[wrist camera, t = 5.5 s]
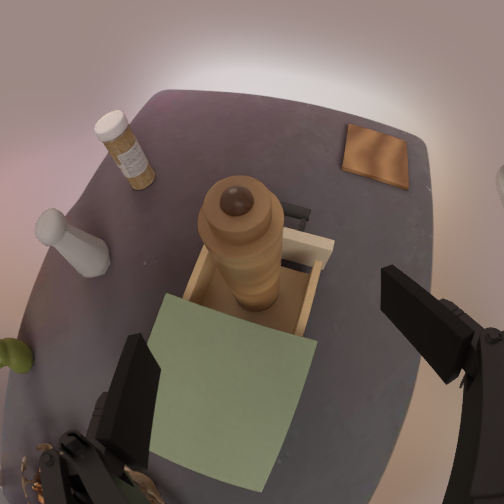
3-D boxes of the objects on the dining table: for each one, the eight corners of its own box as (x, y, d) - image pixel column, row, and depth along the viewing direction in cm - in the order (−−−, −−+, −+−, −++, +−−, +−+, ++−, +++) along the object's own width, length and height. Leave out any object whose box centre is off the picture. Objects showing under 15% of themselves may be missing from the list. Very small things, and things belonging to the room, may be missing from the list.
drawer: (232, 205, 36) (225, 178, 31) (331, 230, 34) (341, 206, 28) (178, 342, 30) (159, 337, 24) (291, 380, 27) (295, 384, 22)
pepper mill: (284, 275, 31) (295, 166, 14) (271, 317, 29) (268, 250, 12) (242, 263, 32) (208, 150, 15) (227, 304, 30) (169, 224, 13)
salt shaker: (93, 242, 37) (41, 198, 25) (120, 247, 36) (68, 199, 24) (80, 278, 35) (22, 241, 23) (108, 286, 34) (47, 248, 22)
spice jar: (129, 177, 41) (92, 120, 29) (152, 164, 42) (121, 104, 29) (134, 195, 39) (93, 137, 27) (159, 182, 40) (125, 119, 28)
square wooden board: (405, 144, 40) (406, 141, 39) (407, 190, 36) (408, 187, 36) (348, 126, 42) (348, 123, 41) (341, 170, 38) (342, 166, 38)
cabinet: (188, 308, 32) (166, 292, 25) (307, 345, 29) (317, 340, 22) (149, 421, 27) (118, 433, 20) (264, 465, 24) (261, 492, 17)
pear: (42, 357, 30) (-4, 347, 21) (33, 381, 28) (-12, 376, 19) (27, 336, 31) (-17, 323, 22) (17, 359, 30) (-25, 350, 20)
